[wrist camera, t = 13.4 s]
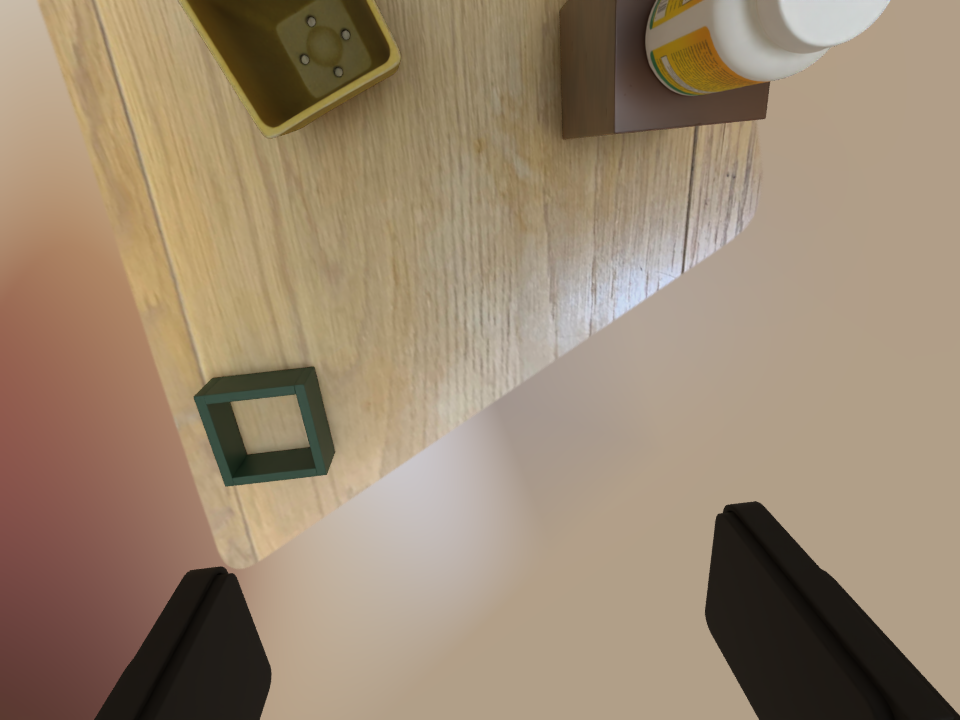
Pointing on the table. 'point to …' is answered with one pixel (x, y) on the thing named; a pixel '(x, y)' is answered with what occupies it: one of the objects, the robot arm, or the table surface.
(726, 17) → the supplement bottle
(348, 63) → the flower pot
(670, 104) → the display block
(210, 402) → the open square frame
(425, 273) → the table surface
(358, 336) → the table surface
